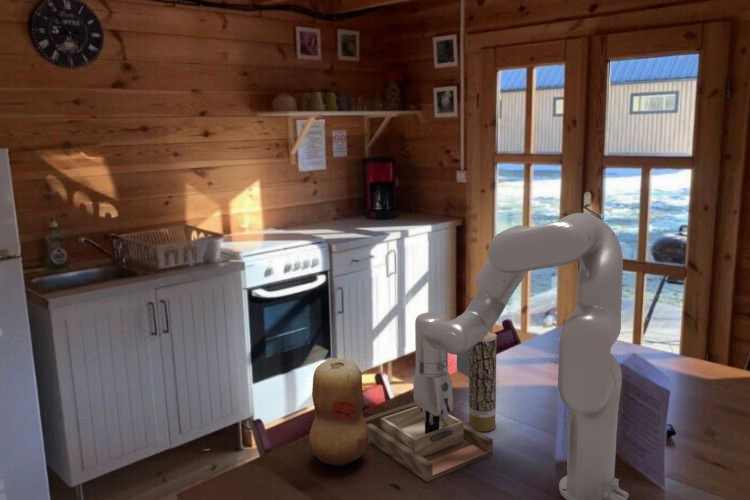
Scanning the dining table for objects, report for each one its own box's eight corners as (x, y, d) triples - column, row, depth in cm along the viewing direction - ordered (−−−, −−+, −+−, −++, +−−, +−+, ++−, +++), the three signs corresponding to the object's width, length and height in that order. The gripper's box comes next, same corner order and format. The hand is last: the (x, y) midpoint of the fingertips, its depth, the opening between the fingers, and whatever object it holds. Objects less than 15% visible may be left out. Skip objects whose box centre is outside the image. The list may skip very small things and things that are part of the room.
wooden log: (495, 433, 167) (496, 340, 162) (468, 431, 168) (468, 339, 163) (495, 421, 173) (496, 331, 168) (469, 420, 175) (470, 330, 170)
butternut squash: (316, 481, 147) (311, 376, 142) (306, 453, 160) (301, 355, 155) (375, 471, 150) (373, 368, 145) (361, 444, 163) (358, 348, 158)
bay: (492, 454, 157) (492, 435, 156) (427, 482, 146) (426, 461, 145) (424, 415, 178) (424, 398, 177) (362, 437, 167) (362, 419, 166)
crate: (466, 442, 160) (466, 423, 159) (417, 461, 152) (417, 441, 151) (427, 420, 172) (427, 402, 171) (380, 436, 164) (380, 418, 163)
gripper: (464, 370, 151) (464, 444, 155) (424, 352, 163) (425, 421, 167) (439, 378, 147) (440, 453, 151) (400, 359, 159) (401, 429, 163)
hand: (432, 436), depth 159 cm, fingers closed
